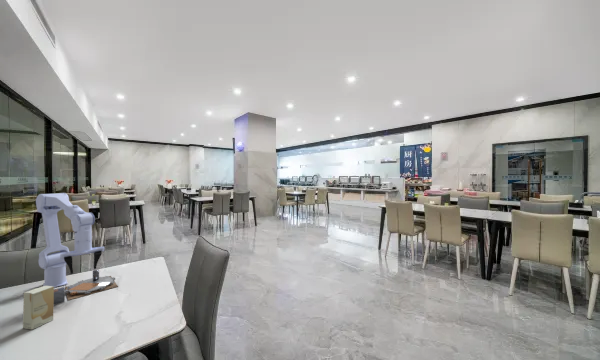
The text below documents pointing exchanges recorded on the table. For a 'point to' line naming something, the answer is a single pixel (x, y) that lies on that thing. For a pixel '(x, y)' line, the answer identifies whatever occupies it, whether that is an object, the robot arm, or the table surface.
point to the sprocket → (90, 284)
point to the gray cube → (59, 296)
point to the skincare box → (38, 307)
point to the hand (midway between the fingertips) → (83, 270)
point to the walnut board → (89, 293)
